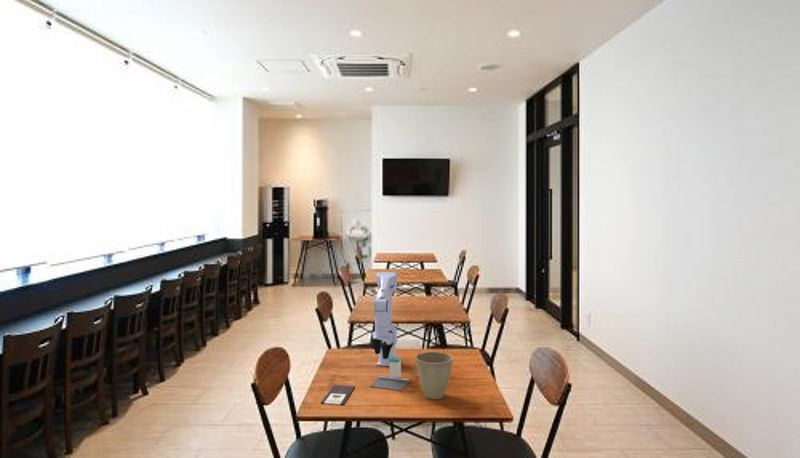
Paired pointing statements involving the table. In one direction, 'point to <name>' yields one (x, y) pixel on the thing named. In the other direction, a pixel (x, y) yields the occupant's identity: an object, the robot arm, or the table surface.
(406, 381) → the stop rail
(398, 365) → the tall block
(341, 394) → the chocolate bar
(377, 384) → the mat
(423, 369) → the plant pot
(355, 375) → the table surface
